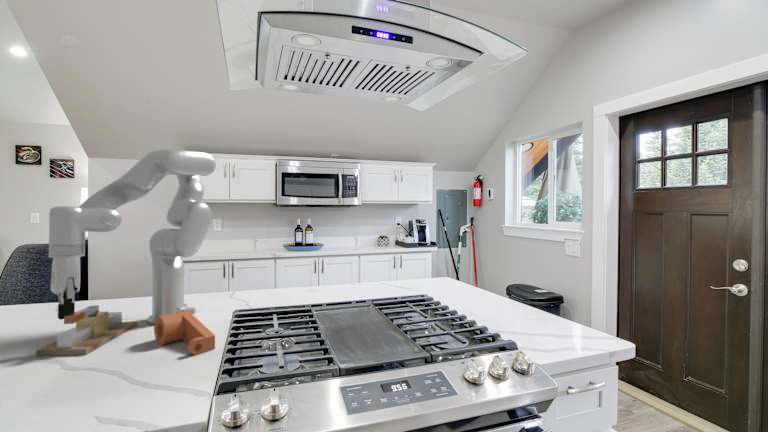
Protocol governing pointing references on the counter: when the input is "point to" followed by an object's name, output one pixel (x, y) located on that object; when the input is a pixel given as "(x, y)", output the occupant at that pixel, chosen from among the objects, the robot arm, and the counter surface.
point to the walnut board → (87, 342)
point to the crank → (184, 332)
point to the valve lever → (80, 314)
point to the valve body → (89, 329)
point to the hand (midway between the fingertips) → (66, 317)
